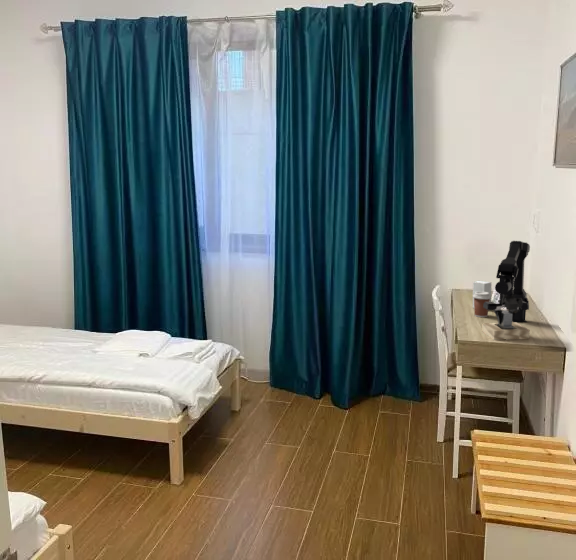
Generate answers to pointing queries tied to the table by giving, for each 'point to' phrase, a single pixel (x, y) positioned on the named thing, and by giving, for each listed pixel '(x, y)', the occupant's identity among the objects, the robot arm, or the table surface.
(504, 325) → the bracket
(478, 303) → the coffee cup
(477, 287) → the skincare box
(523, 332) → the well block
